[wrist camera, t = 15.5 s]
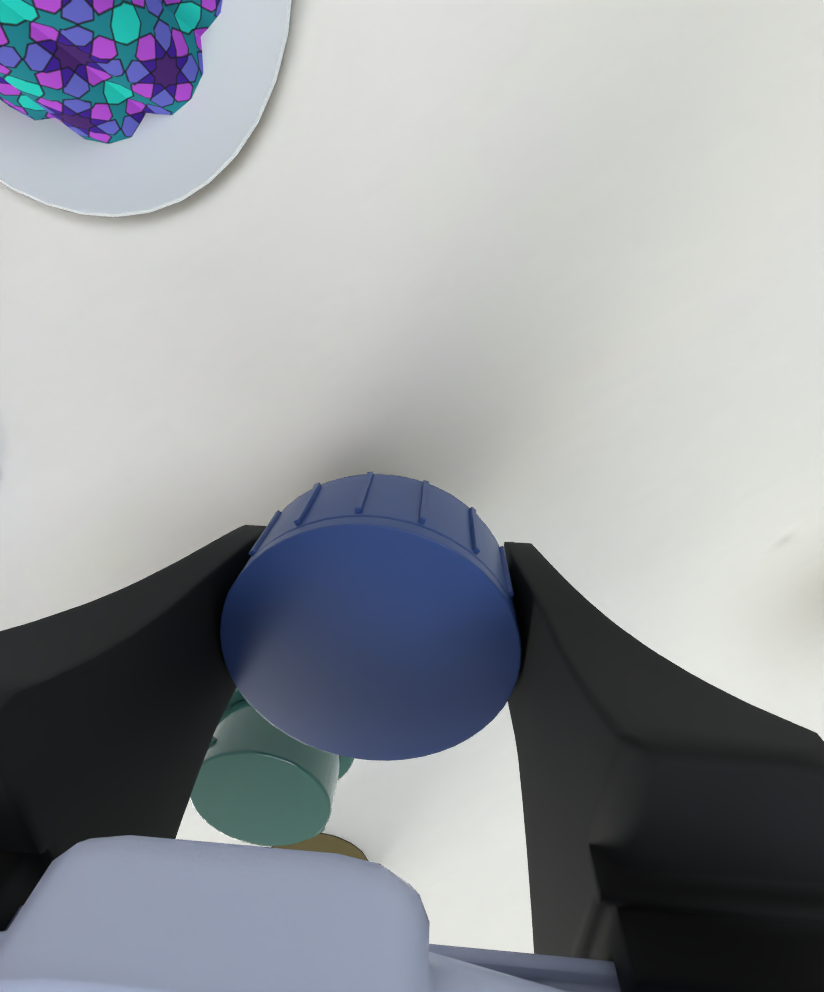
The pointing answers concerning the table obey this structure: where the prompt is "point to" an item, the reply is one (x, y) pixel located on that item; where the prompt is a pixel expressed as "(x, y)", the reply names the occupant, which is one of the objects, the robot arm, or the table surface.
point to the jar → (264, 781)
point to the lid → (374, 620)
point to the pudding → (131, 96)
